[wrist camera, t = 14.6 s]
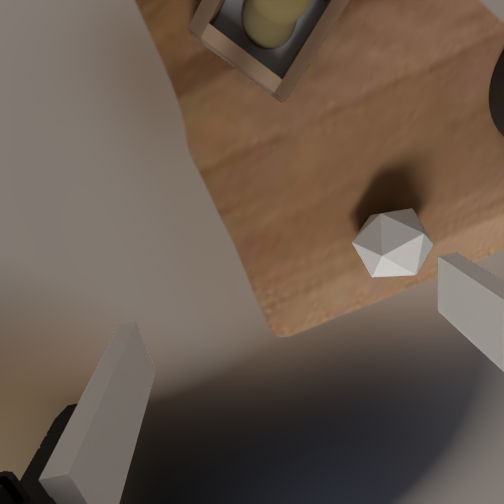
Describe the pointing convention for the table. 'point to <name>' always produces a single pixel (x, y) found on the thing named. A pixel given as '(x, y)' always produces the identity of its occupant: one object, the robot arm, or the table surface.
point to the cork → (271, 20)
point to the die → (393, 243)
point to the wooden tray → (257, 59)
